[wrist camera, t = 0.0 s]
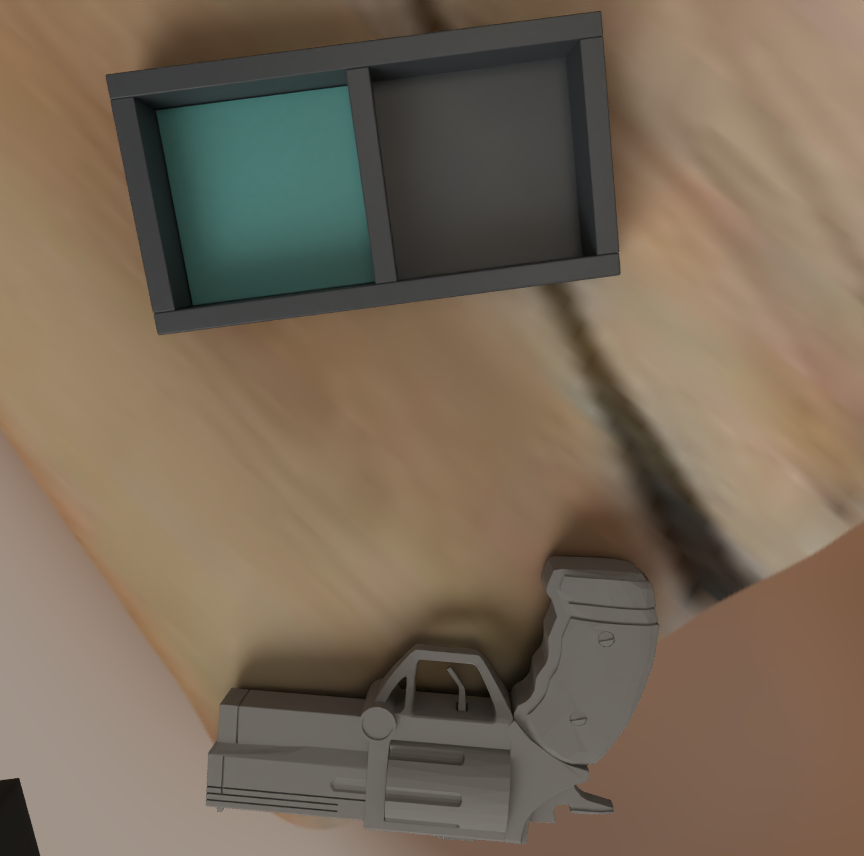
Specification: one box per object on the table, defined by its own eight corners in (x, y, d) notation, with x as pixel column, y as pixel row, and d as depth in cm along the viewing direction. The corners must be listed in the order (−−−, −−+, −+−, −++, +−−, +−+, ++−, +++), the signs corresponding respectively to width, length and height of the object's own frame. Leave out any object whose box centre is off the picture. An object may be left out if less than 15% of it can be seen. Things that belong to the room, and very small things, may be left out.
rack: (133, 92, 36) (104, 74, 33) (582, 34, 36) (601, 10, 33) (179, 328, 39) (157, 335, 35) (601, 273, 39) (621, 274, 35)
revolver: (210, 545, 38) (197, 839, 39) (670, 581, 37) (642, 880, 38) (240, 525, 43) (227, 786, 44) (646, 556, 42) (622, 821, 43)
